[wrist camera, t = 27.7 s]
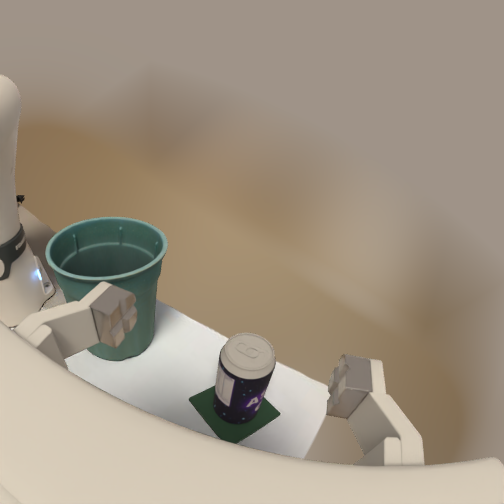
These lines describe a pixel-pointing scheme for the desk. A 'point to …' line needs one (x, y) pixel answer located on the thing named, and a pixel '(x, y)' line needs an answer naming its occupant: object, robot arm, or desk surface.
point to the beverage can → (242, 377)
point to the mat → (229, 430)
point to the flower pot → (111, 270)
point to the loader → (20, 198)
